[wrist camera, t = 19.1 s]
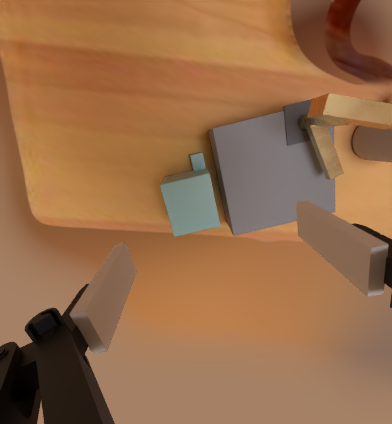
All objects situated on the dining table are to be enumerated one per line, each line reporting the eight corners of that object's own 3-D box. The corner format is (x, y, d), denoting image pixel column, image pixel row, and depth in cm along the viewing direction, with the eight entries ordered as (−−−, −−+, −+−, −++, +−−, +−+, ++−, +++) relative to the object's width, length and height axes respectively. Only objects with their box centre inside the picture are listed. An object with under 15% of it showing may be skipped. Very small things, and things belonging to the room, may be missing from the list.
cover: (160, 162, 34) (154, 167, 28) (201, 152, 34) (205, 154, 27) (176, 219, 38) (174, 236, 31) (214, 211, 37) (220, 226, 31)
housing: (207, 127, 33) (212, 124, 27) (307, 102, 32) (334, 93, 26) (226, 221, 38) (234, 236, 32) (312, 201, 38) (336, 212, 32)
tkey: (263, 169, 29) (302, 183, 19) (277, 109, 27) (329, 91, 17) (328, 178, 30) (395, 195, 20) (347, 120, 27) (433, 109, 18)
